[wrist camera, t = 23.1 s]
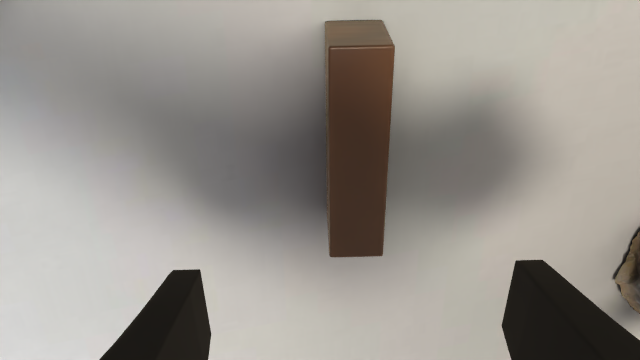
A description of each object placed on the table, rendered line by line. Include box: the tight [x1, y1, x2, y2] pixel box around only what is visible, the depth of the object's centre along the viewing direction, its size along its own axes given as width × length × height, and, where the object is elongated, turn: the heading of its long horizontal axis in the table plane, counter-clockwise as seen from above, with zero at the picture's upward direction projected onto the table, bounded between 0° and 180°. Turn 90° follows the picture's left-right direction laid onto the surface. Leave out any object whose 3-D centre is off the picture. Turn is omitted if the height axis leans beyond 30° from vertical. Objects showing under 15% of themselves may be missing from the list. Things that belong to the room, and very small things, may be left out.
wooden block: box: [325, 20, 395, 257], centre depth 19 cm, size 2×8×3 cm, turn 1°
